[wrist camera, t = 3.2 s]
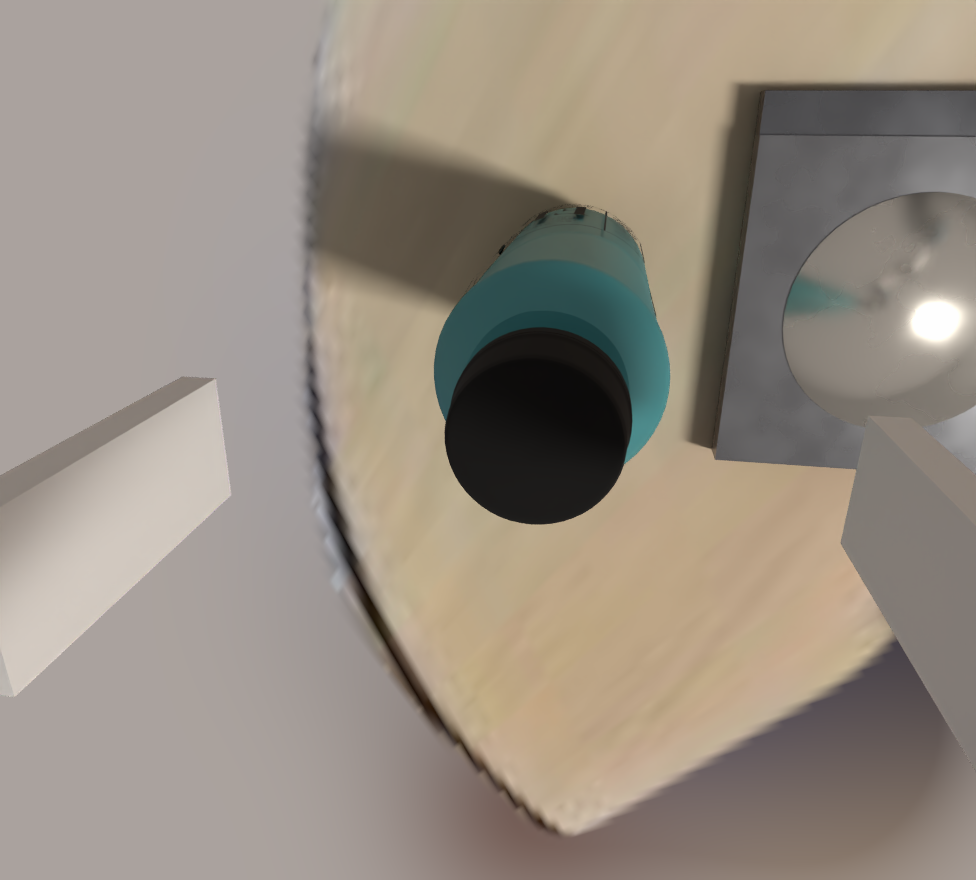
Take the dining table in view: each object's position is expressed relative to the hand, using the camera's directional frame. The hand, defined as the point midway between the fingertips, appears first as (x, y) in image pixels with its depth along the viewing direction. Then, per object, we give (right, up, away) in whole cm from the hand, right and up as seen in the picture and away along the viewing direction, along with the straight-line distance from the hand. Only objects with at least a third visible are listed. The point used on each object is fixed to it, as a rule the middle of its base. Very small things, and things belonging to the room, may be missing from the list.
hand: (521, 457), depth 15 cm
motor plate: (+17, +6, +17) cm, 25 cm away
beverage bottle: (+3, +8, +18) cm, 20 cm away
